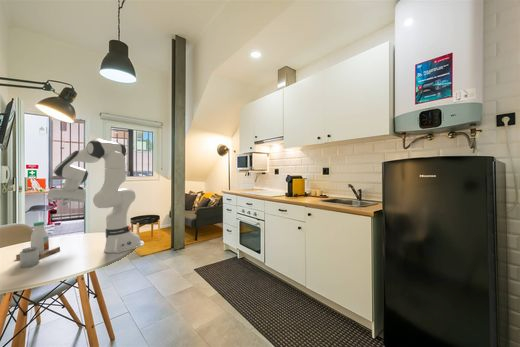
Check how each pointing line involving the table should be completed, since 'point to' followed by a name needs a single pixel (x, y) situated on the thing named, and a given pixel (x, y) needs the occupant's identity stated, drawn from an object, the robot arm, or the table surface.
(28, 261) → the grey jar
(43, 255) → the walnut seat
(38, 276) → the table surface
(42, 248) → the milk bottle
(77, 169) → the robot arm
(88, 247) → the table surface
